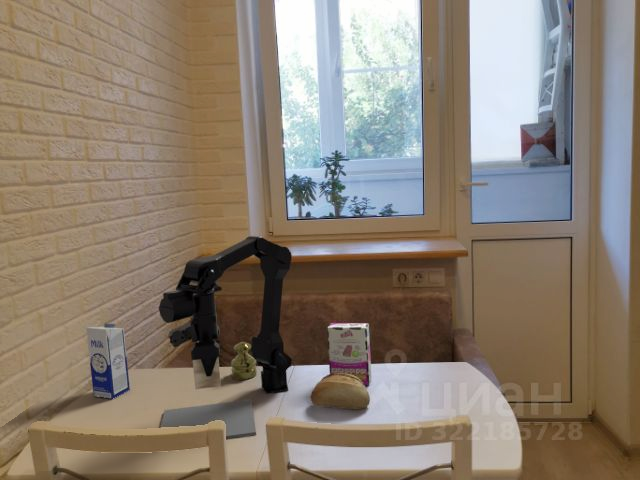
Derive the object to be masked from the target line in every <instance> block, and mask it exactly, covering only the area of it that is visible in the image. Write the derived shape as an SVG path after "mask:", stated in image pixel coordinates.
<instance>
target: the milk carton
mask: <svg viewBox="0 0 640 480" xmlns="http://www.w3.org/2000/svg"><path fill="white" fill-rule="evenodd" d="M85 328H86V336H87V338H86V339H87V348H88V355H89V356H88V357H89V365H90V366H89V367H90V373H91V374H90V375H91V383H92V392H93V396H94V395H95V396H99V397H105V398H104V399H106V398H109V399H108V400H112V399H113V398H115V397H116V398H118V397H120V396H121V394H122V395H124V394H125V393H127V392H128V390H129V391H130V389H131V386H130V378H129V368H128V358H127V349H126V341H125V339H126V337H125V328H123V327H122V328H121V327H120V328H119V327H116V323H109V322H107V323H106V322H105V323H104V326H89V327H88V326H87V327H85ZM126 391H127V392H126ZM124 392H125V393H124ZM119 395H120V396H119ZM117 396H118V397H117ZM99 397H98V398H99ZM116 398H115V399H116ZM113 400H114V399H113Z"/></svg>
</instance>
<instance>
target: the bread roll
mask: <svg viewBox="0 0 640 480" xmlns="http://www.w3.org/2000/svg"><path fill="white" fill-rule="evenodd" d="M310 401H311V404H312V405H314V406H315V407H322V408H336V409H348V410H363V409H364V410H365V408H366V407H368V406H369V405H370V402H371V397H370V394H369V391H368V389H367V387H366V385H364V383H363V382H362V381H361V380H360V379H359V378H358V377H356V376H354V375H352V374H347V373H333V374H330V373H329V374H326V376H324V377H322V379H320V381H319V382H317V383H316V385H315V387H314V388H313V389H312V390H311V394H310Z"/></svg>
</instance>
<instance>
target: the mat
mask: <svg viewBox="0 0 640 480" xmlns="http://www.w3.org/2000/svg"><path fill="white" fill-rule="evenodd" d="M254 415H255V414H254V408H253V402H252V399H245V400H244V399H243V400H236V401H234V400H233V401H226V402H219V403H212V404H204V405H203V404H202V405H197V406H186V407H179V408H172V409H171V408H170V409H165V410H164V411H163V416H162V418H161V419H162V420H161V423H160V427H179V426H196V425H205V424H208V423H209V422H211V421H215V420H222V421H224V422H225V424H226V439H227V440H228V439H234V438H241V437H247V436H255V435H257V431H256V429H257V428H256V423H255V416H254ZM226 439H225V440H226Z"/></svg>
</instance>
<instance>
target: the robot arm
mask: <svg viewBox="0 0 640 480" xmlns="http://www.w3.org/2000/svg"><path fill="white" fill-rule="evenodd" d="M252 256H253V257H256V258H257V259H259V261H260V262H259V264H260V265H259V266H260V269H261V272H262V274H263V277H264V284H263V286H264V287H263V297H262V309H261V310H262V311H261V322H260V323H261V324H260V329H259V330H260V331H259V333H258V334H257V335H256V336H252V338H251V348H250V352H251V354H252V355H251V357H253V358H254V359H255V360H256V364H257V366H259V367H262V370H261V371H260V379H261V382H260V384H261V388H262V389H263V391H264V393H265V394H268V393H269V394H270V393H277V392H278V393H279V392H285V391H288V390H289V386H288V377H287V370H288V369H289V368H291V367H292V361H293V358H291V357H290V356H289V355H288V354H287V353H286V352H285V351H284V349H285V347H284V340H283V338H282V336H281V333H280V322H281V321H280V320H281V309H282V298H283V296H282V295H283V287H284V285H283V284H284V279H285V276H286V275H287V274H288V272H289V271H290V267H291V262H292V258H293V257H292V252H291V250H290V249H289V248H288V247H286V246H283V245H282V246H281V245H279V244H277V243H275V242H272V241H269V240H267V239H266V238H264V237H263V236H258V235H257V236H256V235H250V236H248V237H246V238H245V239H243V240H242V241H239V242H238V243H236V244H234V245H231V246H229V247H228V248H225V249H224V250H221V251H220V252H217V253H216V254H213V255H209V256H203V257H197V258H194V259H190V260H188V262H186V263H185V266H184V269H183V270H184V271H183V273H182V275H181V277H180V279H179V281H178V283H177V285H176V288H175V290H173V291H167V292H163V293H162V295H163V298H162V299H161V300H160V303H159V306H158V310H159V315H160V317H161V319H162V320H163V322H165V323H166V324H170V323H174V322H178V321H181V320H185V319H187V318H190V322H186V323H185V324H183V325H180V326H177V327H175V328H173V329H171V330H170V331H169V333H168V336H167V337H168V339H169V343H170V344H171V345H172V346H173V347H172V348H178V347H180V345H182V344H185V343H186V342H189V341H190V340H191V343H194V344H192V346H191V349H190V355H191V356H190V357H191V360H192V361H193V360H200V359H201V361H202V364H203V367H204V370H205V373H206V376H207V377H209V376H211V375H212V372H213V369H214V366H215V363H216V360H217V357H218V358H220V355H221V353H220V340H218V339H219V337H220V335H221V334H220V333H221V332H220V326H219V325H218V322H217V321H218V320H217V319H218V316H217V308H216V296H215V295H216V294H215V293H216V292H221V291H222V290H223V288H222V286H220V285H218V284H217V283H216V282H217V281H218V280H219V279H221V278H222V277H223V275H224V272H226V271H227V270H228V269H230V268H232V267H234V266H236V265H238V264H239V263H241V262H244V261H245V260H247V259H248V258H250V257H252Z"/></svg>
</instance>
